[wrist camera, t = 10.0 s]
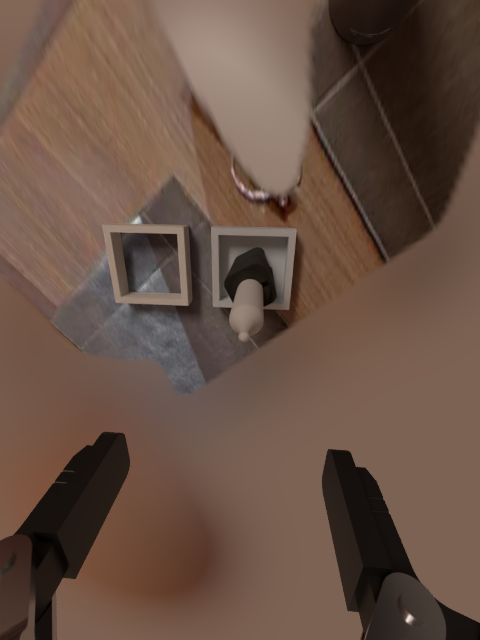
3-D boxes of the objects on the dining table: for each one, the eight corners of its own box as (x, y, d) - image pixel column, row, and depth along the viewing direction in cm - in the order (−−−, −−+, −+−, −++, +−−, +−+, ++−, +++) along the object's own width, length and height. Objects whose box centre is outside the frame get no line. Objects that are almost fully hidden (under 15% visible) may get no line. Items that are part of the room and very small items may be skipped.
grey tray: (214, 225, 41) (211, 227, 38) (294, 227, 40) (296, 229, 37) (216, 300, 46) (213, 306, 43) (287, 303, 45) (289, 310, 42)
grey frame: (112, 223, 42) (102, 224, 39) (188, 225, 41) (183, 226, 38) (124, 297, 47) (115, 302, 44) (192, 299, 46) (188, 305, 43)
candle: (274, 274, 43) (290, 354, 20) (245, 287, 44) (229, 378, 21) (261, 244, 41) (260, 294, 18) (231, 259, 42) (196, 323, 19)
